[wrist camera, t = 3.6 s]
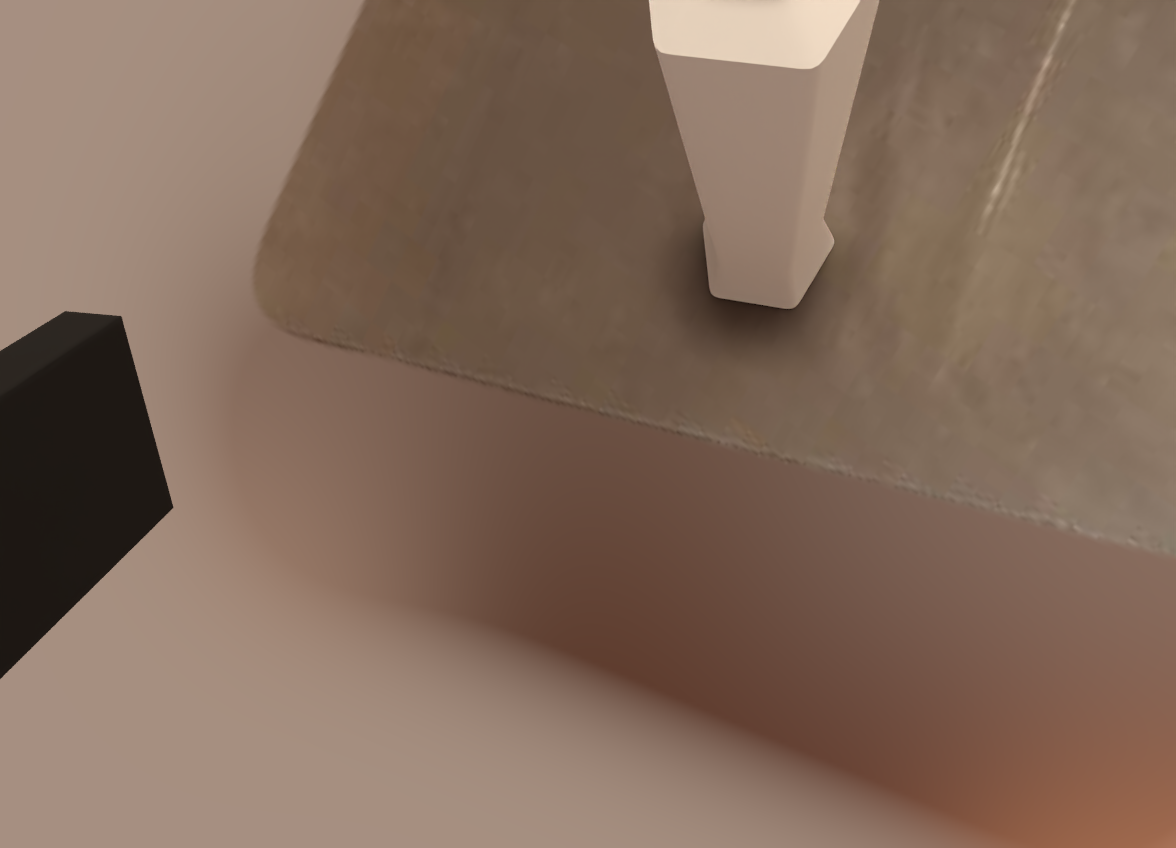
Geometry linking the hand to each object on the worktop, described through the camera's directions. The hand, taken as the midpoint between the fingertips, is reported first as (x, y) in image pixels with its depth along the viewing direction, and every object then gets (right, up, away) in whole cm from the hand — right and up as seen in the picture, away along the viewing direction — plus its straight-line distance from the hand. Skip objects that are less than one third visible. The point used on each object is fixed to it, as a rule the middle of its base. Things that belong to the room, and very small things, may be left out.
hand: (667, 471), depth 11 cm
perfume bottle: (+5, +6, +19) cm, 20 cm away
